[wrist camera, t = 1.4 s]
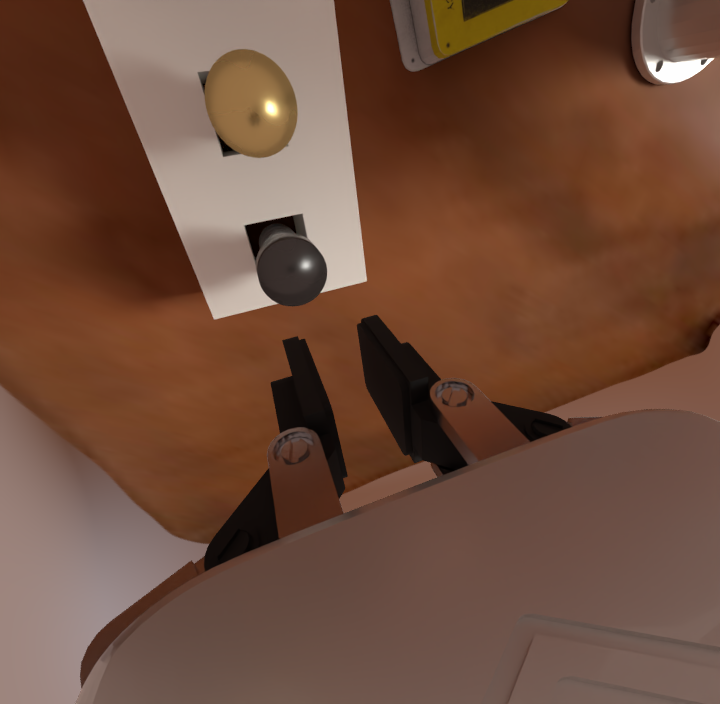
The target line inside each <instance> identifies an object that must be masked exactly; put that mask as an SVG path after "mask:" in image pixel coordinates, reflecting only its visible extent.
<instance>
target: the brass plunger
mask: <svg viewBox="0 0 720 704" xmlns="http://www.w3.org/2000/svg"><path fill="white" fill-rule="evenodd" d="M205 105H206V109H207V113H208V116H209V119H210V121H211V123H212V125H213V127H214V129H215V131H216V132H217V134H218V135H219V136H220V138H221V139H222V140H223V141H224V142H225V143H226V144H227V145H228V146H230V147H231V148H232V149H234V150H235V151H237V152H239V153H241V154H243V155H246V156H249V157H254V158H264V157H269V156H272V155H274V154H276V153H278V152H280V151H281V150H282V149H283V148H284V147H285V146H286V145H287V144H288V143H289V141H290V140H291V138H292V136H293V134H294V131H295V128H296V124H297V115H298V113H297V101H296V97H295V93H294V90H293V88H292V85H291V83H290V81H289V79H288V78H287V76H286V74H285V73H284V72H283V70H282V69H281V68H280V67H279V66H278V65H277V64H276V63H275V62H274V61H273V60H271V59H270V58H269V57H267V56H266V55H264V54H262V53H259V52H257V51H254V50H248V49H237V50H233V51H230V52H227V53H226V54H224V55H222V56H221V57H220V58H219V59H218V60H217V61H216V62H215V63H214V64H213V66H212V67H211V69H210V71H209V73H208V76H207V79H206V84H205Z"/></svg>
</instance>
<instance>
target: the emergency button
mask: <svg viewBox="0 0 720 704" xmlns="http://www.w3.org/2000/svg"><path fill="white" fill-rule="evenodd" d="M567 1H569V0H390V4H391V9H392V14H393V19H394V24H395V29H396V34H397V39H398V43H399V48H400V53H401V58H402V62H403V64H404V66H405V68H406V69H407V70H409V71H411V72H414V71H419V70H422V69H424V68H426V67H428V66H431V65H433V64H435V63H437V62H440V61H442V60H444V59H446V58H449V57H451V56H453V55H455V54H458V53H460V52H462V51H464V50H467V49H469V48H471V47H473V46H476V45H478V44H480V43H482V42H485V41H487V40H489V39H491V38H494V37H496V36H498V35H500V34H503V33H505V32H507V31H509V30H512V29H514V28H516V27H518V26H521V25H523V24H525V23H527V22H530V21H532V20H534V19H536V18H539V17H541V16H543V15H545V14H548V13H550V12H552V11H554V10H557V9H559V8H561V7H562V6H563V5H565V4H566V3H567Z"/></svg>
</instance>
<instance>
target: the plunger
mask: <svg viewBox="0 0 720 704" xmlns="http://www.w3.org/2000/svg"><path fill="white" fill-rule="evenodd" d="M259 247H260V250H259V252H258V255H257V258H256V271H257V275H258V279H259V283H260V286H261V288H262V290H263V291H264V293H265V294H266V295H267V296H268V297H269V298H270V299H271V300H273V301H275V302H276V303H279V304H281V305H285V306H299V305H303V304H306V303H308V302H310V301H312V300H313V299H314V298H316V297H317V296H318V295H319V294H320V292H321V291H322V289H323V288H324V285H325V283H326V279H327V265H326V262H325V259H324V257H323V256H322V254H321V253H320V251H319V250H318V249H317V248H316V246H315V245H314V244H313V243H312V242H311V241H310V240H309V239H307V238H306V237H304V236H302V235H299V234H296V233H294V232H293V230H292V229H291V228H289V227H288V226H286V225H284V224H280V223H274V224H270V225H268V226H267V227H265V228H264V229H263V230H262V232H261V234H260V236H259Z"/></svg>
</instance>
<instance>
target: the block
mask: <svg viewBox="0 0 720 704" xmlns="http://www.w3.org/2000/svg"><path fill="white" fill-rule="evenodd" d="M83 2H84V4H85V6H86V9H87V11H88V14H89V16H90V19H91V21H92V23H93V26H94V28H95V31H96V33H97V36H98V38H99V41H100V43H101V45H102V48H103V50H104V53H105V55H106V58H107V60H108V62H109V65H110V67H111V70H112V72H113V75H114V77H115V79H116V82H117V84H118V87H119V89H120V92H121V94H122V96H123V99H124V101H125V104H126V106H127V109H128V111H129V113H130V116H131V118H132V121H133V123H134V126H135V128H136V130H137V133H138V135H139V138H140V140H141V143H142V145H143V147H144V150H145V152H146V155H147V157H148V160H149V162H150V165H151V167H152V169H153V172H154V174H155V177H156V179H157V182H158V184H159V186H160V189H161V191H162V194H163V196H164V199H165V201H166V203H167V206H168V208H169V211H170V213H171V216H172V218H173V220H174V223H175V225H176V228H177V230H178V233H179V235H180V237H181V240H182V242H183V245H184V247H185V250H186V252H187V254H188V257H189V259H190V262H191V264H192V267H193V269H194V271H195V274H196V276H197V279H198V281H199V284H200V286H201V289H202V291H203V293H204V296H205V298H206V301H207V303H208V306H209V308H210V310H211V313H212V315H213V318H214V319H218V318H222V317H226V316H230V315H234V314H238V313H242V312H246V311H250V310H254V309H258V308H262V307H266V306H270V305H274V304H278V303H276V302H275V301H273V300H271V299H270V298H269V297H268V296H267V295H266V294H265V293H264V291H263V290H262V288H261V286H260V283H259V279H258V275H257V271H256V258H257V257H254V254H253V250H252V247H251V244H250V240H249V237H248V234H247V230H246V227H245V225H248V224H253V223H258V222H263V221H268V220H273V219H278V218H283V217H287V216H292V215H293V219H294V224H295V228H296V233H297V234H299V235H302V236H304V237H306V238H307V239H309V240H310V241H311V242H312V243H313V244H314V245H315V246H316V248H317V249H318V250H319V251H320V253H321V254H322V256H323V257H324V259H325V262H326V265H327V279H326V283H325V285H324V288H323V289H322V291H321V292H320V293H322V292H326V291H330V290H334V289H338V288H342V287H346V286H350V285H354V284H358V283H362V282H366V281H367V278H366V269H365V261H364V252H363V244H362V235H361V227H360V218H359V210H358V202H357V193H356V185H355V176H354V168H353V159H352V151H351V142H350V134H349V125H348V117H347V108H346V100H345V91H344V83H343V74H342V66H341V57H340V49H339V40H338V32H337V23H336V15H335V7H334V0H83ZM237 49H248V50H254V51H257V52H259V53H262V54H264V55H266V56H267V57H269V58H270V59H271V60H273V61H274V62H275V63H276V64H277V65H278V66H279V67H280V68H281V69H282V70H283V72H284V73H285V74H286V76H287V78H288V79H289V81H290V83H291V85H292V88H293V90H294V93H295V97H296V101H297V113H298V115H297V124H296V128H295V131H294V134H293V136H292V138H291V140H290V141H289V143H288V144H287V145H286V146H285V147H284V148H283V149H282V150H281V151H280V152H278V153H276V154H274V155H272V156H269V157H264V158H254V157H249V156H246V155H243V154H241V153H239V152H237V151H235V150H232V151H225V152H223V151H222V147H221V144H220V141H219V137H218V134H217V132H216V131H215V129H214V127H213V125H212V123H211V121H210V119H209V116H208V113H207V109H206V105H205V91H204V87H203V84H206V79H207V76H208V73H209V71H210V69H211V67H212V66H213V64H214V63H215V62H216V61H217V60H218V59H219V58H220V57H221V56H222V55H224V54H226V53H227V52H230V51H233V50H237Z"/></svg>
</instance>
